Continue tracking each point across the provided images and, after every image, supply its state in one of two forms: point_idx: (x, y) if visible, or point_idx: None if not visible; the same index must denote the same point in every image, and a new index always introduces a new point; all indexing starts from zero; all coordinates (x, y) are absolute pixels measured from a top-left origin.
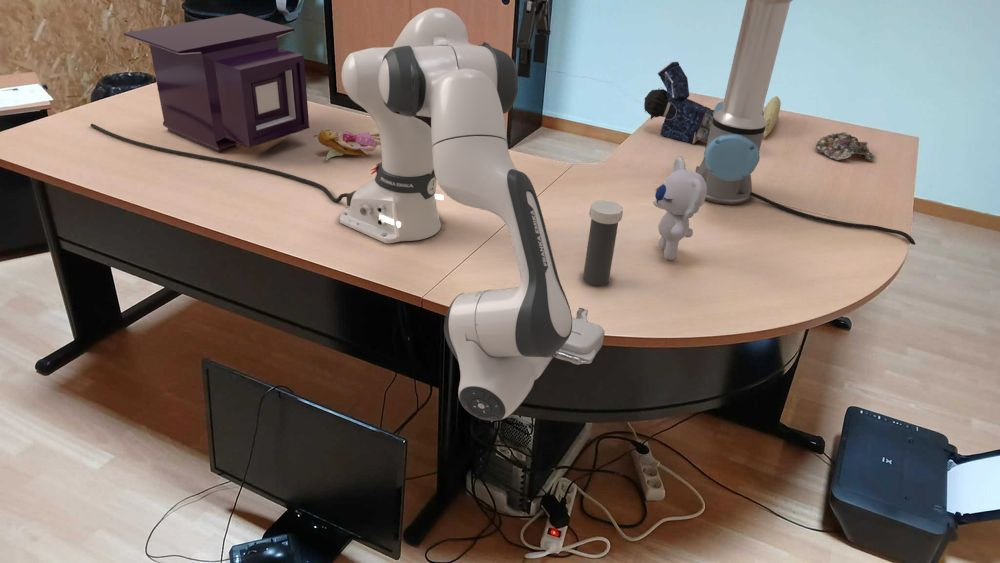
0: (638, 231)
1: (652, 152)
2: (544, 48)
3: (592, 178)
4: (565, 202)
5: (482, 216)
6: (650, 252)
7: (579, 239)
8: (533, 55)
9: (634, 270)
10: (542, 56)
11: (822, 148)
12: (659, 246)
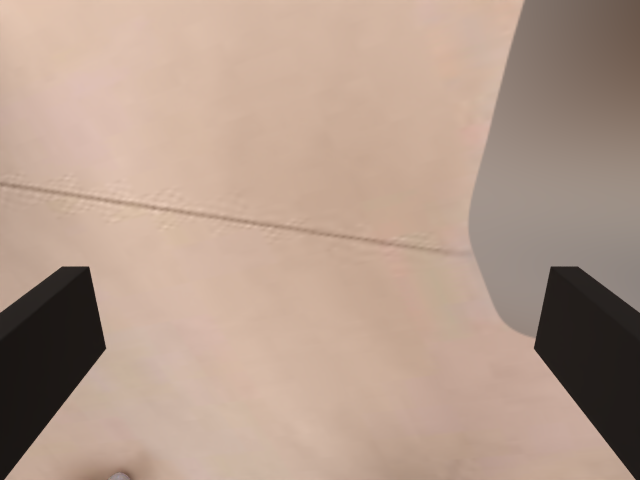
0: (171, 433)
1: None
2: (606, 438)
3: (395, 315)
4: (227, 286)
5: (36, 121)
6: (101, 458)
7: None
8: (582, 292)
9: None
10: (563, 371)
11: None
12: (110, 477)
